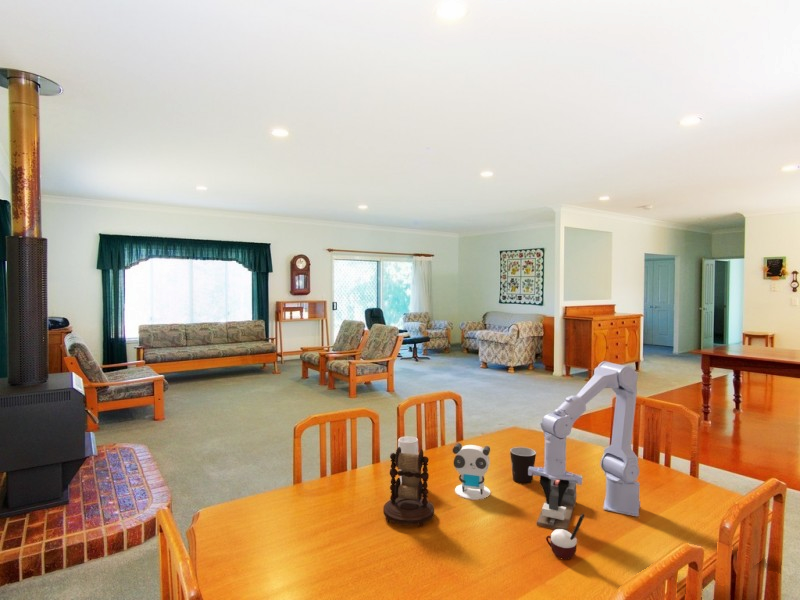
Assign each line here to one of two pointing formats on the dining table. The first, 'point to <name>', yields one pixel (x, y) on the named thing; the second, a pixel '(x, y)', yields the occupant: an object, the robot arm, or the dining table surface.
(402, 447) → the drinking glass
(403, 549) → the dining table surface
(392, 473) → the dark brown wooden stand
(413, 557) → the dining table surface
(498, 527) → the dining table surface
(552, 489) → the rail board
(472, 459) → the panda figurine
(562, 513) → the carriage
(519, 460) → the coffee mug
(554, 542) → the cocoa
